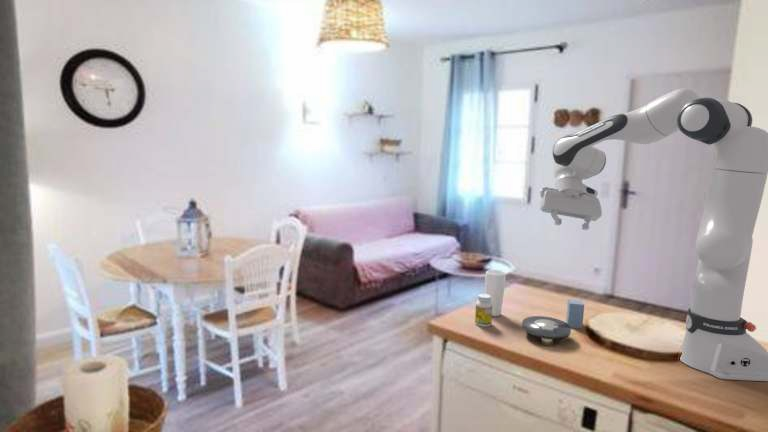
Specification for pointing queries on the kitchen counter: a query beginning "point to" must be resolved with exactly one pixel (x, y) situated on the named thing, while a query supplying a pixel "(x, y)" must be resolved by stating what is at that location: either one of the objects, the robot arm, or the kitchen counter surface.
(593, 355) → the kitchen counter surface
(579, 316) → the block
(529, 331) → the stand
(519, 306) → the kitchen counter surface
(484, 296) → the supplement bottle
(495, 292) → the drinking glass
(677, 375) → the kitchen counter surface
